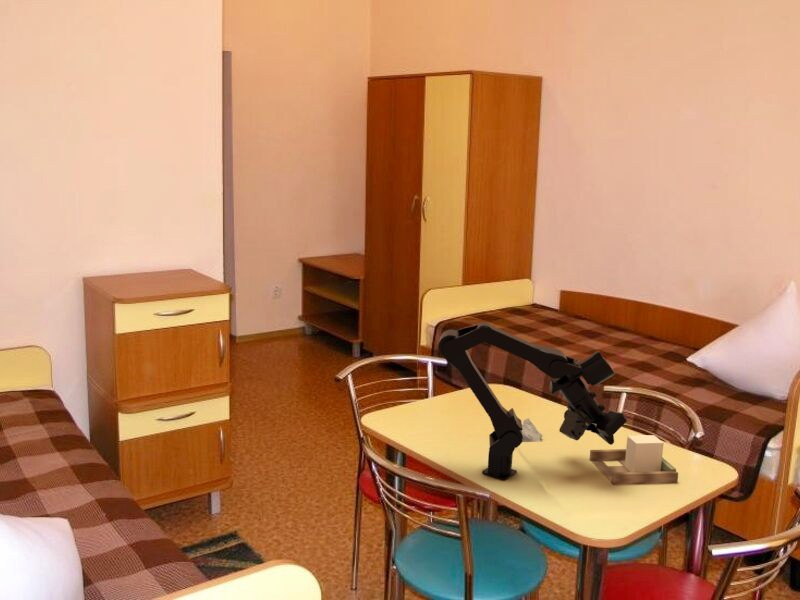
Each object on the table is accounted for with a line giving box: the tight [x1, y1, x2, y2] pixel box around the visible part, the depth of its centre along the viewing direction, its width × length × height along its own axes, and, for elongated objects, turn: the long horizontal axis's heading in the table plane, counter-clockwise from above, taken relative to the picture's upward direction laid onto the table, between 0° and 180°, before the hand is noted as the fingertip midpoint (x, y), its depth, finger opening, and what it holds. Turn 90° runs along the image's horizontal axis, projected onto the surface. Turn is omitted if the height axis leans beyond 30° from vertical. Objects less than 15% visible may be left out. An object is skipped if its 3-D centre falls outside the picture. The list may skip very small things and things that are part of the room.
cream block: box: [625, 434, 664, 472], centre depth 192 cm, size 7×5×8 cm
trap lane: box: [589, 448, 679, 486], centre depth 192 cm, size 16×15×4 cm
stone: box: [522, 418, 544, 443], centre depth 216 cm, size 6×12×4 cm, turn 162°
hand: (611, 443), depth 190 cm, fingers closed
